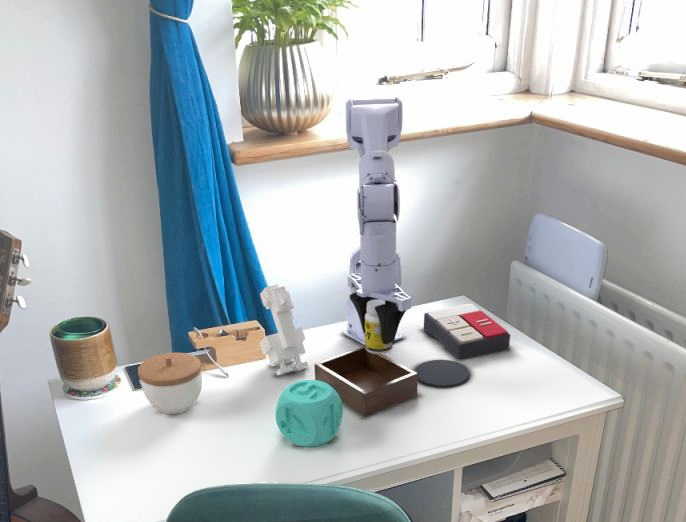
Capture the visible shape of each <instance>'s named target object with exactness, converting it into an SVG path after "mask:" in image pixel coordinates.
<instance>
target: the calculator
mask: <svg viewBox="0 0 686 522" xmlns="http://www.w3.org/2000/svg"><path fill="white" fill-rule="evenodd" d="M423 331H425V332H426V334H428V335H429V336H430V337H431V338H432V337H434V338H435V339H436V340H437V341H438V342H439V343H441V344H442V345H443V346H444V347H445V348H446V349H447V350H448V351H449V352H451V353H452V354H453V356H455V357H456V358H457V359H459V360H463V359H467V358H471V357H477V356H482V355H485V354H486V355H487V354H490V353H494V352H499V351H503V350H508V349H509V347H510V340H511V334H510V333H509V332H508V330H507V329H505V327H503V326H501V325H500V323H498V322H496V321H495V319H493V318H491V317H490V316H489V315H488V314H486V313H485V312H484V311H483V310H480V309H479V308H478V307H477V306H476V305H474V304H473V303H471V302H470V303H465V304H460V305H455V306H450V307H445V308H441V309H436V310H431V311H427V312H425V313H424V315H423Z"/></svg>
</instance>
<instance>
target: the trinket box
mask: <svg viewBox="0 0 686 522" xmlns="http://www.w3.org/2000/svg"><path fill="white" fill-rule="evenodd" d="M137 374H138V378H139V380H140V381H139V382H140V385H141V389H142V392H143V394H144V396H145V398H146V399H147V401H148V403H150V405H152V406H153V407H154V408H156V409H157V410H159V411H160V413H163V414H167V415H178V414H181V413H185V412H187V411H189V410H191V408H193V406H194V404H195V403H196V402H197V400H198V399H199V397H200V394H201V392H202V387H203V373H202V362H201V360H200V359H199V358H198V357H197V356H195V355H193V354H190V353H186V352H166V353H161V354H156V355H154V356H151V357H149V358H148V359H145V360H144V361H143V362H141V363H140V365H139V366H138V368H137Z"/></svg>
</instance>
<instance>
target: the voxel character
mask: <svg viewBox="0 0 686 522" xmlns="http://www.w3.org/2000/svg"><path fill="white" fill-rule="evenodd" d="M259 296H260V299H261V302H262V305H263V307H265V310H269V309H270V312H271V315H272V318H273V321H274V325H275V327H276V330H277V333H273V334H268V335H266V336H264V337H263V339H262V340H260V342H259V345H260V349H261V352H262V354H263V356H264V355H267V357H268V360H269V363H270V366H272V367H276V366H279V369H277V370H276V373H275V374H276V375H277V376H282V375H286V374H289V373H291V372H296V371H300V370H304V369H306V368H307V367H308V366H309V364H308V361H304V362H302V360H301V357H302V356H303V355H304V354H305V353H306V350H305V346H304V341H305V340H306V337H305V332H304V330H303V328H302V326H300V327H296V328H295V325H294V322H293V320H294V315H293V311H292V310H293V309H294V308H295V307H294V304H293V300H292V298H291V294H290V292H289V290H286V287H285V286H279V284H277V283H276V284H273V285H269V286H265V287H264V288H263V290H261V292H260V294H259ZM293 361H294V362H295V364H294V365H293V366H292V365H289V366H286V364H287V363H291V362H293Z"/></svg>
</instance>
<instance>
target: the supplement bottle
mask: <svg viewBox="0 0 686 522" xmlns="http://www.w3.org/2000/svg"><path fill="white" fill-rule="evenodd" d="M382 304H385V301H384V300H382V299H374V300H370V301H368V302H367V309H366V310H367V313H366V315H365V345H364V346H365V348H366V350H367V351H368V352H370V353H372V354H383V355H385V354H387V353H390V352H391V351H392V349H393V342H391V343H388V344H383V342H382V338H381V326H380V321H379V318H378V315H377V312H376V310H375V307H376V306H379V305H382Z"/></svg>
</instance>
